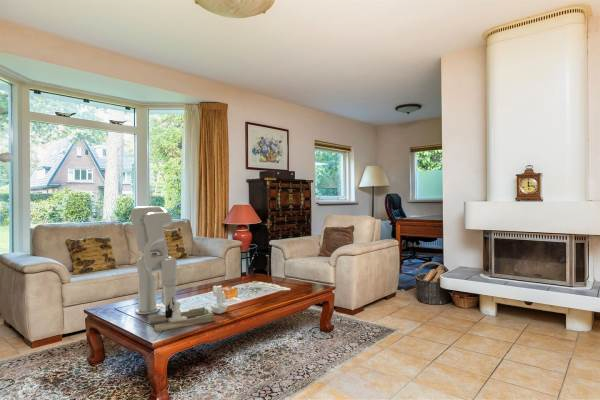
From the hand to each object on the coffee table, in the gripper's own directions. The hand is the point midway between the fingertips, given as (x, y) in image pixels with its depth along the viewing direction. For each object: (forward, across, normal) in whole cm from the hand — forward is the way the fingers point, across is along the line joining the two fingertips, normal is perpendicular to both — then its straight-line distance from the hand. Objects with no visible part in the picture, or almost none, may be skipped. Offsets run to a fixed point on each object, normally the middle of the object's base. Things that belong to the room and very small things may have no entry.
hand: (168, 317), depth 190 cm
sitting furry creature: (+4, 0, +4) cm, 5 cm away
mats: (+4, 0, -5) cm, 6 cm away
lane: (+4, 0, +6) cm, 7 cm away
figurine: (+4, -5, +29) cm, 30 cm away
